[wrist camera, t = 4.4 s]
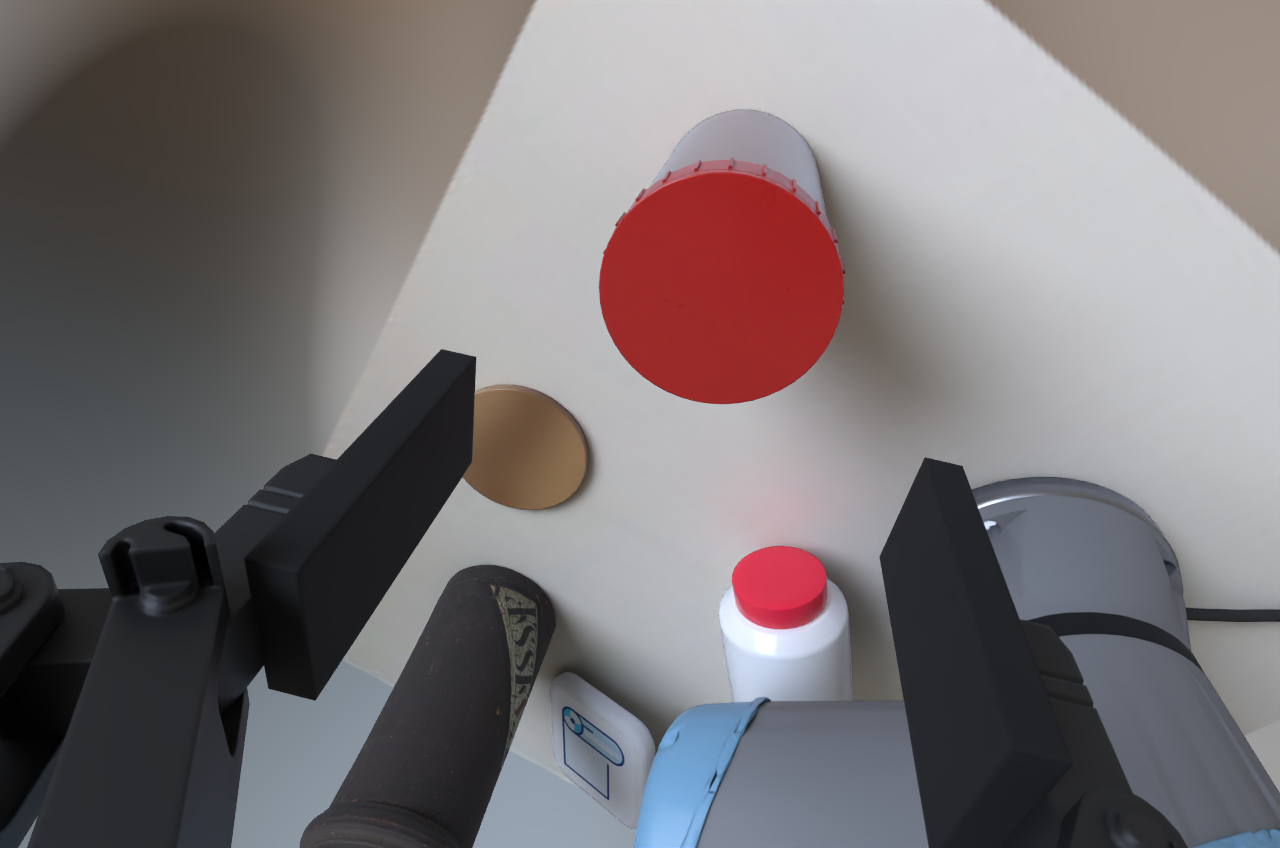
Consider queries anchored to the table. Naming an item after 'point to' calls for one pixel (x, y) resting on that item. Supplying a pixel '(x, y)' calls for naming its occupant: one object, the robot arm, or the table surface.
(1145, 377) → the table surface
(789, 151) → the sauce jar
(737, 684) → the pill bottle
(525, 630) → the container
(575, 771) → the button
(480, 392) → the coaster
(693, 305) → the jar lid
